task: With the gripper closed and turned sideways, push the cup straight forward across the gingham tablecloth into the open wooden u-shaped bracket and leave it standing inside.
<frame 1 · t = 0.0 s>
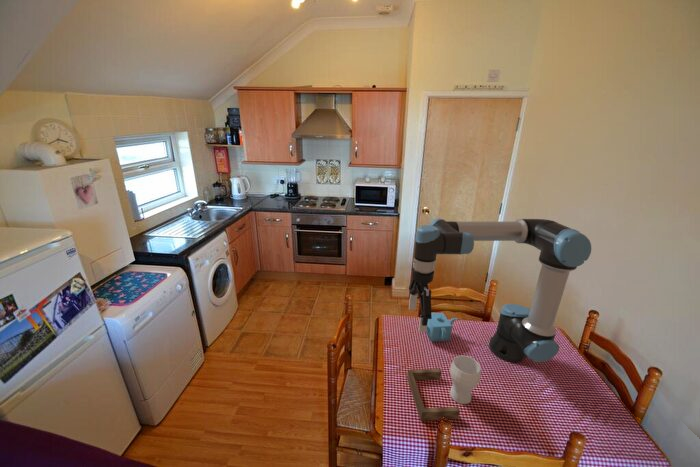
hand: (417, 319, 113), 28 cm above the table, fingers open, 13 cm apart
wooden u-shaped bracket: (432, 396, 114), on the table
teapot: (437, 336, 147), on the table
cup: (460, 395, 115), on the table
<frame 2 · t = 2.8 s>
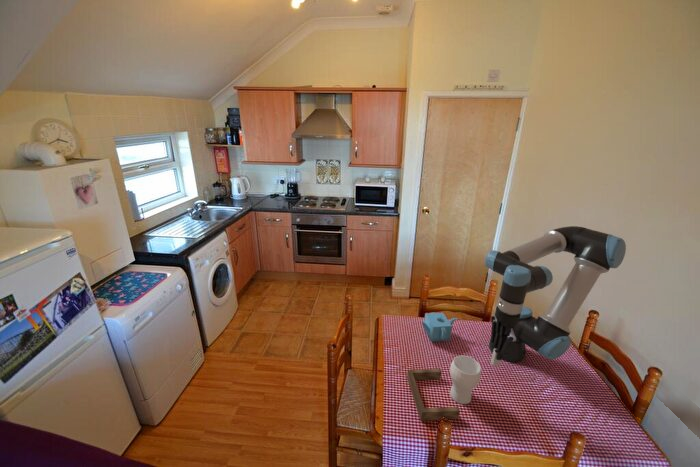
hand: (495, 364, 110), 15 cm above the table, fingers closed
nothing on the table moved.
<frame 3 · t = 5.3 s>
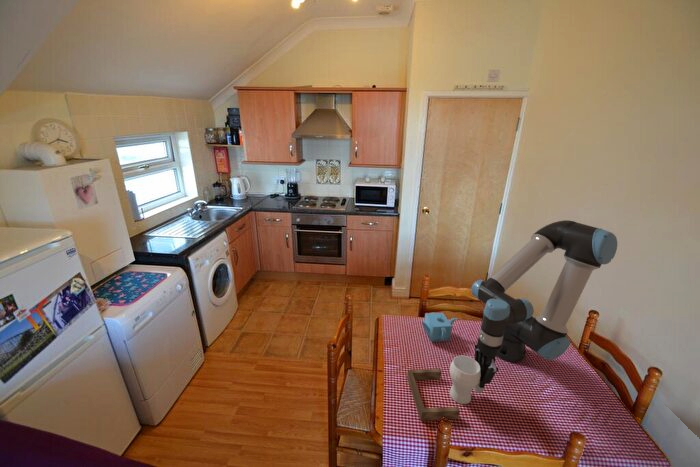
hand: (478, 391, 114), 2 cm above the table, fingers closed
cup: (460, 395, 115), on the table, touching gripper
everything else where it was.
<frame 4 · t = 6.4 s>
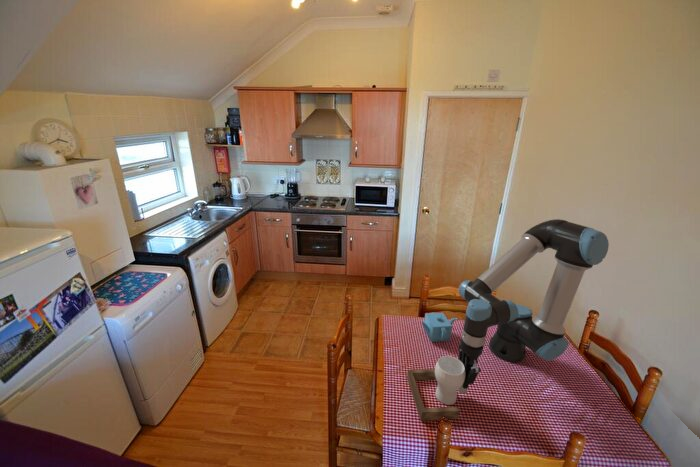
hand: (462, 391, 114), 2 cm above the table, fingers closed
cup: (445, 396, 114), on the table, touching gripper
everything else where it was.
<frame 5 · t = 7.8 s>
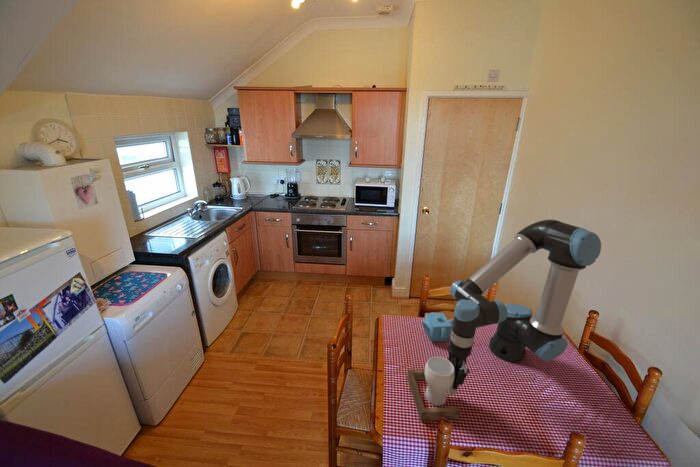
hand: (452, 392, 114), 2 cm above the table, fingers closed
cup: (435, 397, 114), on the table, touching gripper
everything else where it was.
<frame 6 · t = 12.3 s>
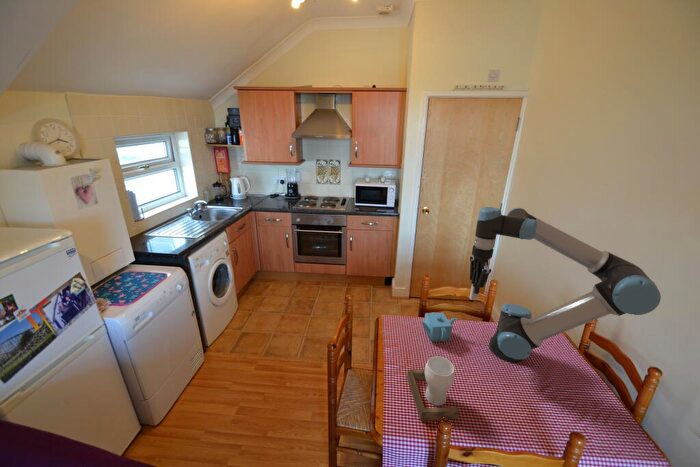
hand: (473, 298, 125), 29 cm above the table, fingers closed
cup: (435, 397, 114), on the table
everything else where it was.
at the end: cup inside the target area on the wooden u-shaped bracket (1.7 cm from its centre), point 0.0 cm above the wooden u-shaped bracket's base; cup tilted 0°; the gripper is holding nothing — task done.
